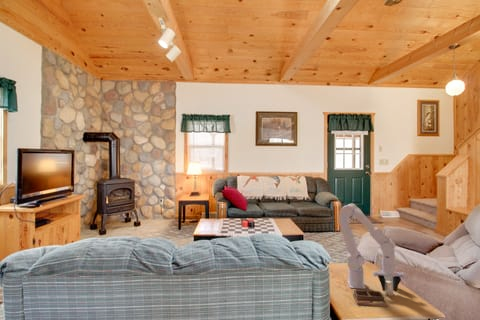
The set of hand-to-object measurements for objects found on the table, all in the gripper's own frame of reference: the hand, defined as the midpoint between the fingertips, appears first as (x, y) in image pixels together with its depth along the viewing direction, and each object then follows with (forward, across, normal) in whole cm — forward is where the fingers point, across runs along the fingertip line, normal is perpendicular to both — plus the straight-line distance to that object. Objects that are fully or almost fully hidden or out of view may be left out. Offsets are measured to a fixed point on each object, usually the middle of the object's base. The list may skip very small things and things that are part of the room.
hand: (389, 290), depth 143 cm
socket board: (+2, -12, -9) cm, 15 cm away
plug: (+2, 0, 0) cm, 2 cm away
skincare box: (+2, +3, +10) cm, 11 cm away
